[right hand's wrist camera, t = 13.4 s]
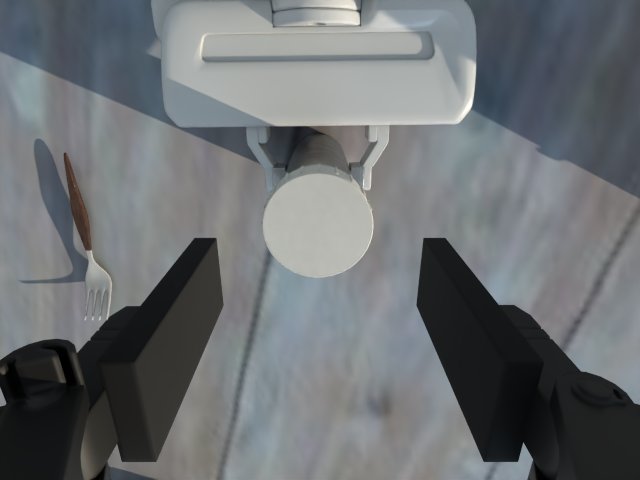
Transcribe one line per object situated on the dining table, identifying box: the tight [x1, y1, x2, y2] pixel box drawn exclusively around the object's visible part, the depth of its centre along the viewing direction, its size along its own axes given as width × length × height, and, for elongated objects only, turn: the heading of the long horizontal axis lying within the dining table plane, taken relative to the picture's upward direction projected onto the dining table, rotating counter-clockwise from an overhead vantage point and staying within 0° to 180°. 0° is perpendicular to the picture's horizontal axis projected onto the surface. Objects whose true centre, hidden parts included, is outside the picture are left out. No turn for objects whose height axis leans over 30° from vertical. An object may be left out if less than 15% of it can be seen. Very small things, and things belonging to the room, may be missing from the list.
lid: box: [262, 164, 374, 277], centre depth 20 cm, size 5×5×2 cm
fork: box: [64, 153, 112, 320], centre depth 36 cm, size 3×16×2 cm, turn 0°
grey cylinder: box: [284, 134, 351, 177], centre depth 27 cm, size 5×5×17 cm
